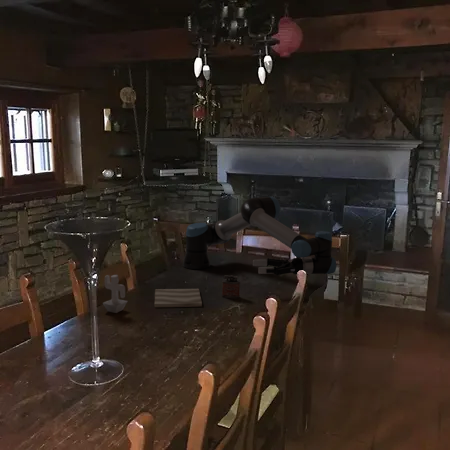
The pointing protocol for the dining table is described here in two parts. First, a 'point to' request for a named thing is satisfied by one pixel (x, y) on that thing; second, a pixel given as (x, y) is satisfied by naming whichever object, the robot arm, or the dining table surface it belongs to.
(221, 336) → the dining table surface
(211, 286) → the dining table surface
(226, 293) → the lighter
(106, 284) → the figurine
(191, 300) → the board
